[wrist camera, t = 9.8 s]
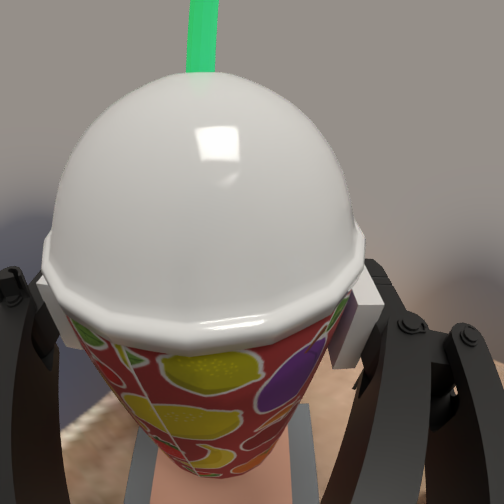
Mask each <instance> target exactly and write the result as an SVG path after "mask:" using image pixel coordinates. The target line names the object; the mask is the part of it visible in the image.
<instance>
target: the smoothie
mask: <svg viewBox="0 0 504 504" xmlns="http://www.w3.org/2000/svg"><path fill="white" fill-rule="evenodd" d="M218 4H219V0H190V12H189V25H188V40H187V61H186V73H179V74H172V75H169V76H165V77H162V78H160V79H157V80H155V81H152V82H150V83H148V84H146V85H144V86H142V87H140V88H138V89H136V90H134V91H132V92H130V93H128V94H127V95H125V96H124V97H122V98H121V99H119V100H118V101H116V102H115V103H113V104H112V105H111V106H109V107H108V108H107V109H106V110H105V111H104V112H103V113H102V114H101V115H100V116H99V117H97V118H96V119H95V120H94V121H93V122H92V123H91V124H90V125H89V127H88V128H87V129H86V131H85V132H84V134H83V135H82V137H81V138H80V140H79V141H78V143H77V144H76V146H75V147H74V149H73V150H72V152H71V155H70V157H69V159H68V161H67V163H66V166H65V168H64V170H63V173H62V175H61V178H60V182H59V186H58V191H57V196H56V201H55V207H54V215H53V224H52V229H51V231H50V232H49V234H48V235H47V237H46V238H45V240H44V246H43V256H42V267H41V272H42V274H43V276H44V278H45V280H46V282H47V284H48V286H49V288H50V289H51V291H52V293H53V295H54V297H55V299H56V300H57V302H58V304H59V305H60V307H61V309H62V311H63V313H64V315H65V317H66V318H67V320H68V322H69V324H70V326H71V327H72V329H73V331H74V333H75V334H76V336H77V338H78V340H79V341H80V343H81V345H82V346H83V348H84V349H85V351H86V353H87V354H88V356H89V358H90V359H91V361H92V362H93V364H94V365H95V367H96V368H97V370H98V371H99V373H100V374H101V376H102V377H103V379H104V380H105V381H106V383H107V384H108V386H109V387H110V388H111V390H112V391H113V393H114V394H115V395H116V397H117V398H118V399H119V401H120V402H121V403H122V405H123V406H124V407H125V408H126V410H127V411H128V412H129V413H130V415H131V416H132V417H133V418H134V420H135V421H136V422H137V423H138V424H139V426H140V427H141V428H142V429H143V430H144V432H145V433H146V434H147V435H148V436H149V437H150V438H151V439H152V441H153V442H154V443H155V444H156V445H157V446H158V447H159V448H160V449H161V450H162V451H163V453H164V454H165V455H166V456H167V457H168V458H169V459H171V460H172V461H173V462H174V463H175V464H176V465H177V466H179V467H180V468H181V469H183V470H185V471H187V472H190V473H192V474H194V475H197V476H199V477H205V478H215V479H225V478H230V477H235V476H240V475H243V474H245V473H247V472H248V471H250V470H252V469H254V468H255V467H257V466H259V465H260V464H261V463H262V462H263V461H264V460H265V458H266V457H267V456H268V455H269V454H270V453H271V452H272V450H273V448H274V446H275V445H276V443H277V441H278V440H279V438H280V436H281V435H282V433H283V431H284V430H285V428H286V426H287V424H288V423H289V421H290V419H291V417H292V416H293V414H294V412H295V410H296V408H297V407H298V405H299V403H300V401H301V399H302V397H303V395H304V394H305V392H306V390H307V388H308V386H309V384H310V382H311V380H312V378H313V376H314V374H315V372H316V370H317V368H318V366H319V364H320V362H321V360H322V358H323V356H324V354H325V351H326V349H327V347H328V345H329V343H330V341H331V339H332V336H333V334H334V332H335V330H336V327H337V325H338V323H339V321H340V318H341V316H342V314H343V311H344V309H345V306H346V304H347V302H348V299H349V296H350V292H351V289H352V288H353V286H354V285H355V284H356V282H357V281H358V279H359V277H360V275H361V273H362V271H363V269H364V260H365V246H366V239H365V236H364V234H363V232H362V231H361V229H360V227H359V225H358V224H357V222H356V220H355V218H354V215H353V209H352V203H351V199H350V195H349V191H348V187H347V183H346V179H345V176H344V173H343V171H342V168H341V166H340V164H339V162H338V160H337V158H336V156H335V154H334V152H333V150H332V148H331V146H330V145H329V143H328V142H327V140H326V139H325V138H324V136H323V135H322V134H321V133H320V131H319V130H318V128H317V127H316V126H315V125H314V123H313V122H312V121H311V120H310V119H309V118H308V117H307V116H306V115H305V114H303V112H301V111H300V110H299V109H298V108H297V107H296V106H295V105H293V104H292V103H291V102H289V101H288V100H286V99H285V98H283V97H281V96H280V95H278V94H277V93H275V92H273V91H272V90H270V89H268V88H266V87H264V86H262V85H260V84H257V83H255V82H253V81H251V80H248V79H245V78H243V77H240V76H237V75H234V74H229V73H220V72H215V50H216V34H217V18H218Z"/></svg>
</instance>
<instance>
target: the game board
mask: <svg viewBox="0 0 504 504" xmlns="http://www.w3.org/2000/svg"><path fill="white" fill-rule="evenodd" d="M124 504H319V493H318V483H317V473H316V463H315V453H314V444H313V435H312V427H311V419H310V410H309V403H308V404H299V405H298V407H297V408H296V410H295V412H294V414H293V416H292V417H291V419H290V421H289V423H288V424H287V426H286V428H285V430H284V431H283V433H282V435H281V436H280V438H279V440H278V441H277V443H276V445H275V446H274V448H273V450H272V452H271V453H270V454H269V455H268V456H267V457H266V458H265V460H264V461H263V462H262V463H261V464H260V465H259V466H257V467H255V468H254V469H252V470H250V471H248V472H247V473H245V474H243V475H240V476H235V477H230V478H225V479H215V478H205V477H199V476H197V475H194V474H192V473H190V472H187V471H185V470H183V469H181V468H180V467H179V466H177V465H176V464H175V463H174V462H173V461H172V460H171V459H169V458H168V457H167V456H166V455H165V454H164V453H163V451H162V450H161V449H160V448H159V447H158V446H157V445H156V444H155V443H154V442H153V441H152V439H151V438H150V437H149V436H148V435H147V434H146V433H145V432H144V430H143V429H142V428H141V427H140V426H139V429H138V434H137V438H136V443H135V447H134V452H133V457H132V462H131V467H130V472H129V477H128V482H127V488H126V493H125V499H124Z"/></svg>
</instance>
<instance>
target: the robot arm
mask: <svg viewBox="0 0 504 504" xmlns="http://www.w3.org/2000/svg"><path fill="white" fill-rule="evenodd" d="M59 335H60V336H61V338H62V340H63V342H64V343H65V345H66V346H68V347H72V348H76V349H81V350H84V348H83V346H82V345H81V343H80V341H79V340H78V338H77V336H76V334H75V333H74V331H73V329H72V327H71V326H70V324H69V322H68V320H67V318H66V317H65V315H64V313H63V311H62V309H61V307H60V305H59V304H58V302H57V300H56V299H55V297H54V295H53V293H52V291H51V289H50V288H49V286H48V284H47V282H46V280H45V278H44V276H43V274H42V272H41V270H40V272H39V273H38V274H37V275H36V277H35V278H34V279H33V280H32V281H31V283H30V284H29V285H27V283H26V280H25V278H24V275H23V273H22V271H21V269H20V268H19V267H16V266H11V267H7V268H5V269H3V270H1V271H0V504H70V499H69V494H68V489H67V484H66V478H65V472H64V465H63V457H62V448H61V438H60V424H59V400H58V399H59V398H58V379H59V378H58V377H59V348H58V346H57V344H56V341H57V339H58V337H59ZM328 351H329V355H330V360H331V364H332V369H348V368H355V367H356V365H357V363H358V361H359V359H360V357H361V359H362V362H363V366H364V368H363V370H362V372H361V374H360V376H359V377H358V379H357V381H356V383H355V384H354V386H353V388H352V389H354V390H355V389H356V388H357V389H356V394H355V398H354V402H353V406H352V409H351V413H350V417H349V420H348V424H347V428H346V431H345V434H344V438H343V441H342V444H341V447H340V451H339V454H338V457H337V460H336V463H335V466H334V468H333V471H332V474H331V477H330V480H329V482H328V485H327V488H326V490H325V493H324V495H323V498H322V500H321V503H320V504H417V501H418V496H419V491H420V486H421V481H422V475H423V469H424V463H425V477H426V504H504V389H503V386H502V383H501V380H500V378H499V375H498V372H497V369H496V367H495V364H494V362H493V359H492V357H491V354H490V352H489V349H488V347H487V345H486V342H485V340H484V338H483V336H482V335H481V333H480V332H479V331H478V330H477V329H476V328H475V327H473V326H471V325H469V324H466V323H457V324H456V325H455V326H453V327H452V329H451V331H450V332H449V334H447V333H442V332H437V331H432V330H429V328H428V325H427V324H426V322H425V321H424V320H423V319H422V318H421V317H420V316H418V315H417V314H415V313H412V312H410V311H407V310H406V309H405V307H404V305H403V303H402V301H401V299H400V298H399V296H398V294H397V292H396V290H395V288H394V287H393V286H392V283H391V281H390V279H389V278H388V276H387V274H386V273H385V271H384V269H383V268H382V266H380V265H379V264H378V263H377V262H376V261H375V260H373V259H365V260H364V269H363V271H362V273H361V275H360V277H359V279H358V281H357V282H356V284H355V285H354V286H353V288H352V289H351V292H350V296H349V299H348V302H347V304H346V306H345V309H344V311H343V314H342V316H341V318H340V321H339V323H338V325H337V327H336V330H335V332H334V334H333V336H332V339H331V341H330V343H329V345H328ZM455 386H456V388H457V391H458V394H457V395H456V394H455V392H454V389H453V388H454V387H455Z"/></svg>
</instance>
